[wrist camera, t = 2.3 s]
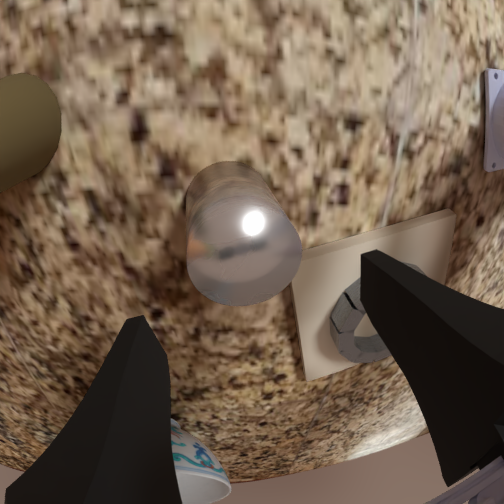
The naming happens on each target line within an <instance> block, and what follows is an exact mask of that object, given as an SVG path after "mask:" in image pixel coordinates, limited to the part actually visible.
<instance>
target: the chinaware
mask: <svg viewBox="0 0 504 504" xmlns="http://www.w3.org/2000/svg"><path fill="white" fill-rule="evenodd" d="M171 443H172V453H173V459H174V465H175V471H176V476H177V481H178V486H179V491H180V495H181V499H182V503H183V504H210V503H213V502H216V501H218V500H221V499H223V498H225V497H226V496H228V495H229V494H230V492H231V485H230V482H229V480H228V477H227V475H226V473H225V471H224V469H223V468H222V466H221V464H220V463H219V461H218V460H217V458H216V457H215V456H214V454H213V453H212V452H211V451H210V450H209V449H208V448H207V447H206V446H205V445H204V444H203V443H202V442H201V441H199V440H198V439H197V438H195V437H194V436H193V435H191V434H189V433H188V432H186V431H184V430H182V429H181V428H180V425H179V424H178V423H177V422H176V421H175V420H173V419H172V418H171Z"/></svg>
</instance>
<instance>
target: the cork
mask: <svg viewBox="0 0 504 504" xmlns="http://www.w3.org/2000/svg"><path fill="white" fill-rule="evenodd" d="M60 135H61V111H60V108H59V105H58V101H57V98H56V96H55V94H54V93H53V92H52V90H51V89H50V87H49V86H48V84H47V83H45V82H44V81H42V80H41V79H39V78H38V77H37V76H34V75H30V74H25V73H19V74H14V75H9V76H6V77H4V78H1V79H0V193H1V192H3V191H5V190H7V189H8V188H10V187H12V186H14V185H16V184H18V183H20V182H22V181H24V180H26V179H27V178H29V177H31V176H33V175H35V174H38V173H39V172H40V171H41V170H42V169H43V168H44V167H45V166H46V165H47V164H48V163H49V162H50V160H51V158H52V157H53V155H54V153H55V151H56V149H57V147H58V143H59V139H60Z"/></svg>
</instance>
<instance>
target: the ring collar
mask: <svg viewBox="0 0 504 504" xmlns="http://www.w3.org/2000/svg"><path fill="white" fill-rule="evenodd" d="M400 262H401V261H400ZM402 263H404V264H405V265H407V266H409V267H411V268H413V269H414V270H416V271H418V272H420V273H422V274H424V275H425V276H427V275H426V274H425V273H424V272H423V271H422V270H421V269H420V268H419V267H418V266H417V265H414V264H410V263H406V262H402ZM345 291H346V292H347V293H344V292H342V294H341V296H340V298H339V299H338V301H337V303H336V305H335V306H334V308H333V310H332V312H331V313H330V315H331V316H330V317H329V321H330V335H331V337H332V339H333V341H334V343H335V345H336V347H337V350H338V352H339V354H341V355H342V356H343V357H345V358H346V359H347V360H349V361H350V362H353V363H372V362H373V361H374V362H376V361H379V360H381V359H383V358H386V357H388V356H391V355H392V354H391V353H390V351H389V350H388V348H387V347H386V345H385V344H384V342H383V341H382V339H381V338H380V336H379V334H375V335H373V336H370V337H360V336H354V331H355V329H356V328H357V326H358V325H359V323H360V321H361V320H362V318H363V317H364V315H365V314H366V311H365V309H364V307H363V305H362V303H361V301H360V278H358V279H357V280H356V281H355V282H354V283H352V284H351V285H350V286H349V287H347V288H346V289H345Z"/></svg>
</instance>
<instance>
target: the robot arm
mask: <svg viewBox="0 0 504 504" xmlns="http://www.w3.org/2000/svg"><path fill="white" fill-rule="evenodd" d="M485 92H486V131H485V152H484V170H485V171H487V172H492V171H497V170H501V169H504V70H498V69H490V68H488V69H486V70H485ZM360 256H361V274H360V301H361V303H362V305H363V307H364V309H365V311H366V314H367V315H368V317H369V319H370V321H371V323H372V325H373V327H374V328H375V330H376V331H377V333H378V334H379V336H380V338H381V339H382V341H383V342H384V344H385V345H386V347H387V348H388V350H389V351H390V353H391V354H392V356H393V358H394V359H395V361H396V362H397V364H398V365H399V367H400V369H401V370H402V372H403V373H404V375H405V377H406V379H407V381H408V382H409V384H410V387H411V389H412V391H413V393H414V395H415V397H416V400H417V402H418V404H419V407H420V409H421V411H422V414H423V416H424V419H425V421H426V424H427V426H428V429H429V432H430V435H431V438H432V441H433V443H434V446H435V450H436V453H437V457H438V460H439V464H440V467H441V472H442V476H443V479H444V481H445V483H446V485H447V486H448V487H449V486H451V485H452V484H454V483H456V482H457V481H459V480H461V479H462V478H464V477H466V476H467V475H469V474H470V473H472V472H473V471H475V470H476V469H478V468H479V469H480V471H478V472H477V473H475V474H474V475H472V476H471V477H469V478H468V479H466V480H465V481H463V482H462V483H460V484H458V485H456V486H455V487H453V488H452V489H450V490H448V491H446V492H445V493H443V494H441V495H439V496H438V497H436V498H434V499H432V500H431V501H428V502H427V503H425V504H463V503H464V502H466V501H468V500H469V499H470V500H469V502H468V504H504V309H501V308H498V307H495V306H492V305H489V304H486V303H483V302H481V301H479V300H476V299H474V298H471V297H469V296H466V295H464V294H462V293H459V292H457V291H455V290H453V289H451V288H449V287H447V286H445V285H443V284H441V283H439V282H437V281H435V280H433V279H431V278H429V277H427V276H425V275H424V274H422V273H420V272H418V271H416V270H414V269H413V268H411V267H409V266H407V265H405V264H404V263H402V262H400V261H398V260H396V259H395V258H393V257H391V256H389V255H387V254H385V253H383V252H382V251H379V250H377V249H375V250H372V251H369V252H366V253H363V254H360ZM5 504H183V503H182V499H181V495H180V491H179V486H178V481H177V476H176V471H175V465H174V459H173V453H172V443H171V397H170V375H169V367H168V359H167V354H166V352H165V351H164V349H163V348H162V346H161V344H160V343H159V341H158V339H157V338H156V336H155V334H154V333H153V331H152V329H151V327H150V326H149V324H148V322H147V321H146V319H145V317H144V315H142V316H138V317H134V318H130V319H127V320H126V321H125V323H124V325H123V327H122V328H121V330H120V332H119V334H118V336H117V338H116V340H115V342H114V344H113V346H112V348H111V350H110V351H109V353H108V355H107V357H106V359H105V361H104V363H103V365H102V367H101V368H100V370H99V372H98V374H97V375H96V377H95V379H94V381H93V382H92V384H91V386H90V388H89V389H88V391H87V393H86V395H85V396H84V398H83V400H82V401H81V403H80V404H79V406H78V408H77V409H76V411H75V412H74V414H73V415H72V416H71V418H70V419H69V421H68V422H67V424H66V425H65V426H64V428H63V429H62V430H61V431H60V433H59V434H58V435H57V437H56V438H55V439H54V440H53V442H52V443H51V444H50V446H49V447H48V448H47V449H46V450H45V451H44V452H43V454H42V455H41V456H40V457H39V458H38V459H37V460H36V461H35V462H34V463H33V464H32V465H31V466H30V467H29V468H28V469H27V470H26V471H25V472H24V473H23V474H22V475H21V476H20V477H19V478H18V479H17V480H16V481H14V482H13V483H12V484H11V485H10V486H9V487H8V488H6V493H5Z"/></svg>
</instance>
